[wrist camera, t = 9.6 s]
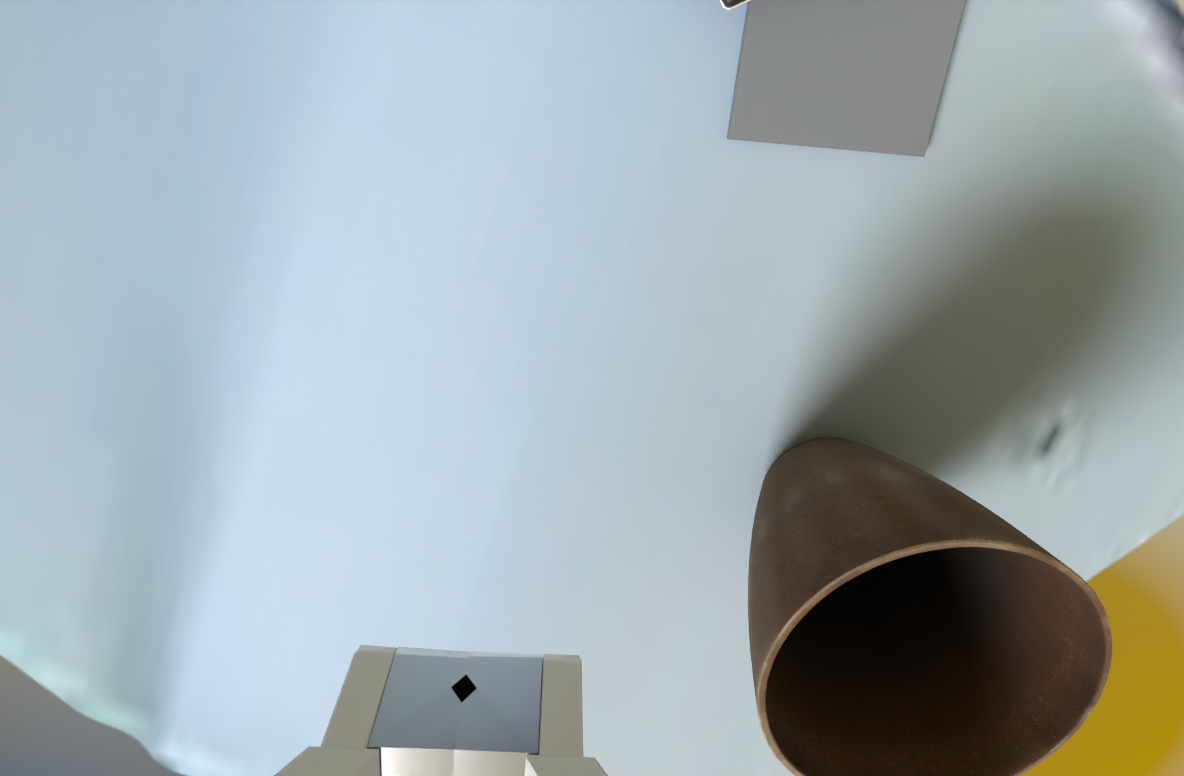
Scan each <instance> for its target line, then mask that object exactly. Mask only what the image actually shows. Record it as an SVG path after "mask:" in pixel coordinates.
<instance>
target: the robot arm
mask: <svg viewBox="0 0 1184 776" xmlns="http://www.w3.org/2000/svg"><path fill="white" fill-rule="evenodd" d="M274 776H608V775H607V774H606V773H605V771H604V770H603V768H602V767H601V766H600V764H599V763H598V762H597V760H596V759H595V758H591V757H583V717H582V669H581V659H580V657H579V655H554V654H544V655H543V659H542V654H520V653H494V652H462V651H449V650H435V649H421V648H407V647H399V648H394V647H381V646H368V645H361V646H360V647H359V648H358V650H357V651H356V652H355V654H354V656H353V659H352V661H351V664H350V667H349V670H348V672H347V675H346V678H345V681H344V683H343V686H342V689H341V692H340V694H339V697H338V700H337V703H336V705H335V708H334V711H333V714H332V716H331V719H330V722H329V725H328V727H327V730H326V733H325V736H324V738H323V741H322V744H321V747H307V748H306V749H305V750H304V751H303V752H301V753H300V754H299V755H298V756H297V757H296V758H294V759H293V760H292V761H291V762H290V763H288V764H287V765H286V766H285V767H284V768H282V769H281V770H280V771H279V772H278V773H276V774H275V775H274Z"/></svg>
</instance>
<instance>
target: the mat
mask: <svg viewBox="0 0 1184 776" xmlns="http://www.w3.org/2000/svg"><path fill="white" fill-rule="evenodd" d="M964 3H965V0H750V1H748V5H747V11H746V18H745V24H744V31H743V37H742V43H741V50H740V56H739V63H738V69H737V76H736V82H735V89H734V95H733V102H732V108H731V115H730V121H729V128H728V134H727V138H728V139H732V140H743V141H754V142H765V143H777V144H788V145H799V146H810V147H821V148H832V149H843V150H855V151H866V152H877V153H888V154H899V155H910V156H921V157H924V156H925V153H926V149H927V145H928V141H929V137H930V133H931V129H932V126H933V122H934V118H935V114H936V110H937V106H938V103H939V99H940V95H941V91H942V87H943V83H944V80H945V76H946V72H947V68H948V64H949V60H950V57H951V53H952V49H953V45H954V41H955V37H956V33H957V30H958V26H959V22H960V18H961V14H962V10H963V7H964Z"/></svg>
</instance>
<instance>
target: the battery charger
mask: <svg viewBox="0 0 1184 776" xmlns="http://www.w3.org/2000/svg"><path fill="white" fill-rule="evenodd" d="M748 1H750V0H720V2H721V5H722V6H723V8H725V9H727V10H729V9H733V8H735V7H737V6H739V5H741V4H744V3H746V2H748Z"/></svg>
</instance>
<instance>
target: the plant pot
mask: <svg viewBox="0 0 1184 776" xmlns="http://www.w3.org/2000/svg"><path fill="white" fill-rule="evenodd" d="M748 619H749V638H750V651H751V661H752V670H753V679H754V687H755V695H756V702H757V710H758V717H759V722H760V726H761V729H762V732H763V735H764V737H765V739H766V741H767V743H768V745H769V747H770V749H771V751H772V752H773V753H774V755H775V756H776V758H777V759H778V760H779V761H780V762H781V763H782V764H783V765H784V766H785V768H787V769H788V770H789V771H790V772H791V773H792V774H793V775H795V776H1020V775H1022V774H1023V773H1025V772H1027V771H1028V770H1030V769H1032V768H1034V767H1035V766H1037V765H1038V764H1039V763H1041V762H1042V761H1044V760H1045V759H1046V758H1048V757H1049V756H1051V755H1052V754H1053V753H1054V752H1055V751H1057V750H1058V749H1059V748H1060V747H1061V746H1062V745H1063V744H1064V743H1065V742H1066V741H1067V740H1068V739H1070V737H1071V736H1072V735H1073V734H1074V733H1075V732H1076V731H1077V730H1078V729H1079V728H1080V727H1081V725H1082V724H1083V723H1084V721H1085V720H1086V719H1087V717H1088V716H1089V714H1090V713H1091V711H1092V710H1093V708H1094V707H1095V705H1096V704H1097V702H1098V700H1099V698H1100V696H1101V694H1102V691H1103V689H1104V686H1105V684H1106V681H1107V678H1108V674H1109V670H1110V665H1111V658H1112V637H1111V630H1110V626H1109V622H1108V617H1107V615H1106V612H1105V610H1104V607H1103V605H1102V604H1101V602H1100V600H1099V599H1098V597H1097V595H1096V594H1095V592H1094V591H1093V590H1092V589H1091V587H1090V586H1089V585H1088V584H1087V583H1086V582H1085V581H1084V580H1083V579H1082V578H1081V577H1080V576H1079V575H1078V574H1076V573H1075V572H1074V571H1073V570H1071V569H1070V568H1069V567H1068V566H1066V565H1065V564H1064V563H1062V562H1061V561H1060V560H1058V559H1057V558H1055V557H1054V556H1053V555H1051V554H1050V553H1049V552H1047V551H1046V550H1045V549H1043V548H1042V547H1041V546H1039V545H1038V544H1037V543H1035V542H1034V541H1033V540H1031V539H1030V538H1028V537H1027V536H1026V535H1024V534H1023V533H1022V532H1020V531H1019V530H1017V529H1016V528H1015V527H1013V526H1012V525H1010V524H1009V523H1008V522H1006V521H1005V520H1003V519H1002V518H1001V517H999V516H998V515H996V514H995V513H993V512H992V511H990V510H989V509H987V508H986V507H984V506H983V505H981V504H980V503H978V502H976V501H975V500H973V499H972V498H970V497H968V496H967V495H965V494H964V493H962V492H960V491H959V490H957V489H955V488H954V487H952V486H950V485H948V484H947V483H945V482H943V481H941V480H939V479H938V478H936V477H934V476H932V475H930V474H928V473H926V472H924V471H922V470H920V469H918V468H916V467H914V466H912V465H910V464H908V463H906V462H903V461H901V460H899V459H897V458H895V457H892V456H890V455H887V454H885V453H882V452H880V451H877V450H875V449H872V448H869V447H866V446H863V445H860V444H857V443H854V442H850V441H847V440H843V439H837V438H820V439H814V440H810V441H807V442H804V443H801V444H799V445H797V446H795V447H793V448H791V449H790V450H788V451H787V452H785V453H784V454H783V455H782V456H780V457H779V458H778V459H777V460H776V461H775V463H774V464H773V465H772V466H771V468H770V469H769V471H768V473H767V474H766V477H765V479H764V481H763V485H762V488H761V492H760V496H759V500H758V504H757V508H756V513H755V518H754V524H753V530H752V538H751V548H750V558H749V577H748Z"/></svg>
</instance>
